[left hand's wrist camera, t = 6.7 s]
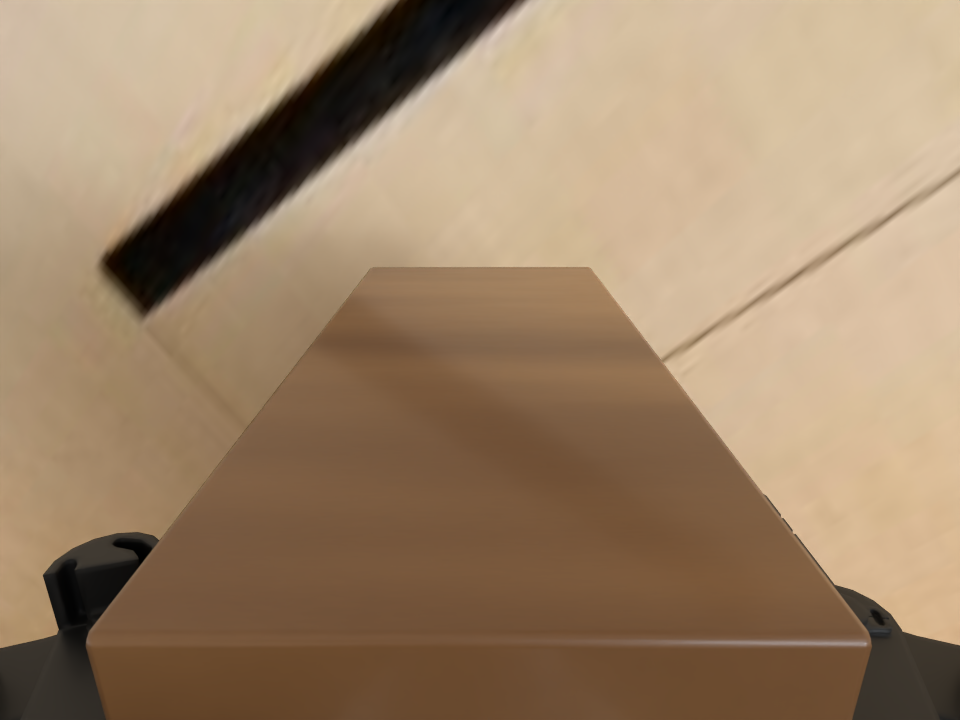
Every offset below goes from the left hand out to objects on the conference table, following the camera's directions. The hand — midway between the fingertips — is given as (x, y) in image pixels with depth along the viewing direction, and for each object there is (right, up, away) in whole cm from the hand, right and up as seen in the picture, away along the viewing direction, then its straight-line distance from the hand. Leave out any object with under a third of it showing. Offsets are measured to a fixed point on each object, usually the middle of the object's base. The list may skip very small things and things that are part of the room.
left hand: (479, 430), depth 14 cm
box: (0, -5, +6) cm, 8 cm away
